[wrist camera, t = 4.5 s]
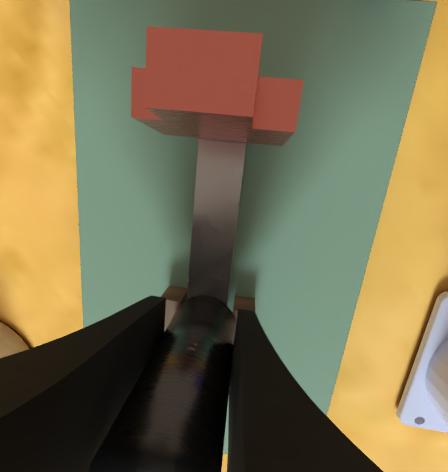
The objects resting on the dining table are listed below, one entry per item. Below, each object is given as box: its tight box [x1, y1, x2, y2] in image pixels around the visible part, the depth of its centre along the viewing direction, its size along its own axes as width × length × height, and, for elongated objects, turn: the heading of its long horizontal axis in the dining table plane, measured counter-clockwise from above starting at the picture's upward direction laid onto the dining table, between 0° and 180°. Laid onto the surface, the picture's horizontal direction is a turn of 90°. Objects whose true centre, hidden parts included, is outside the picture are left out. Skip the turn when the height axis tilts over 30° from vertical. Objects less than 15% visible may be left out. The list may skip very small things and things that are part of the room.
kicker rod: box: [88, 26, 304, 472], centre depth 8 cm, size 4×11×7 cm, turn 174°
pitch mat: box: [70, 0, 437, 454], centre depth 12 cm, size 14×23×1 cm, turn 174°
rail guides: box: [161, 286, 255, 401], centre depth 12 cm, size 4×5×1 cm
